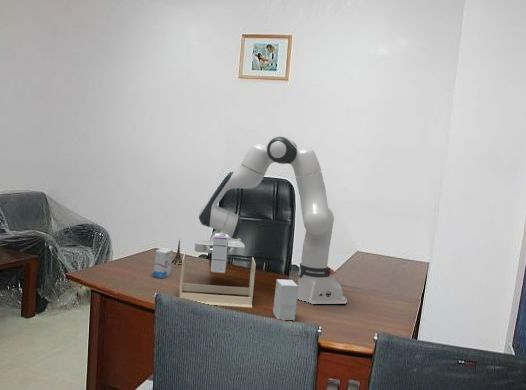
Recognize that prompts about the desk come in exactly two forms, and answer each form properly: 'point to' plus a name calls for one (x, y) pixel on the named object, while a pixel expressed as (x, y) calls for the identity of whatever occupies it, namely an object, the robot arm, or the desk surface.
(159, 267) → the ink box
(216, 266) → the syrup box
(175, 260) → the eiffel tower figurine
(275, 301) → the small box
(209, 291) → the wooden rack
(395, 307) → the desk surface
